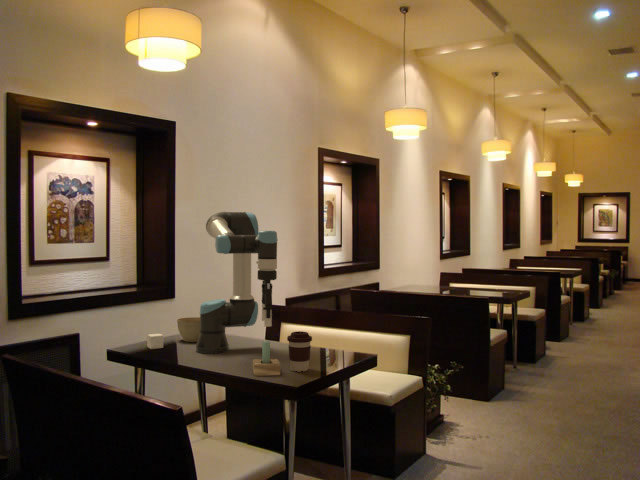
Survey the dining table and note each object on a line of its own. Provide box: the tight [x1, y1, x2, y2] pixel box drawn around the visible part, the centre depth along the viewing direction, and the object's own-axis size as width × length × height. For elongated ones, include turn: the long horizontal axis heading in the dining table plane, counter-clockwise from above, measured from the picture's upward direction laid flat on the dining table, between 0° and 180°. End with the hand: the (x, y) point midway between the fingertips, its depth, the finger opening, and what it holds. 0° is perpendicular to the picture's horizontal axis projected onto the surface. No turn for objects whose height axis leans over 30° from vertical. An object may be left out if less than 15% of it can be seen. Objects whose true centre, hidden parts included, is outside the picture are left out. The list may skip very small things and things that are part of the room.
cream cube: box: [146, 333, 164, 350], centre depth 267 cm, size 6×6×6 cm
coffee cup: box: [286, 331, 313, 373], centre depth 226 cm, size 10×10×15 cm
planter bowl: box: [176, 316, 200, 343], centre depth 285 cm, size 16×16×11 cm
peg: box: [261, 340, 271, 363], centre depth 222 cm, size 3×3×12 cm
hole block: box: [252, 358, 281, 377], centre depth 222 cm, size 10×10×4 cm
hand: (266, 323), depth 222 cm, fingers open, 13 cm apart
